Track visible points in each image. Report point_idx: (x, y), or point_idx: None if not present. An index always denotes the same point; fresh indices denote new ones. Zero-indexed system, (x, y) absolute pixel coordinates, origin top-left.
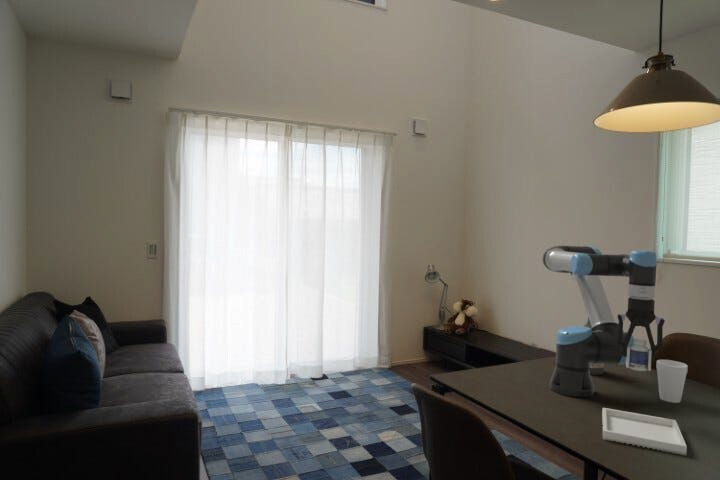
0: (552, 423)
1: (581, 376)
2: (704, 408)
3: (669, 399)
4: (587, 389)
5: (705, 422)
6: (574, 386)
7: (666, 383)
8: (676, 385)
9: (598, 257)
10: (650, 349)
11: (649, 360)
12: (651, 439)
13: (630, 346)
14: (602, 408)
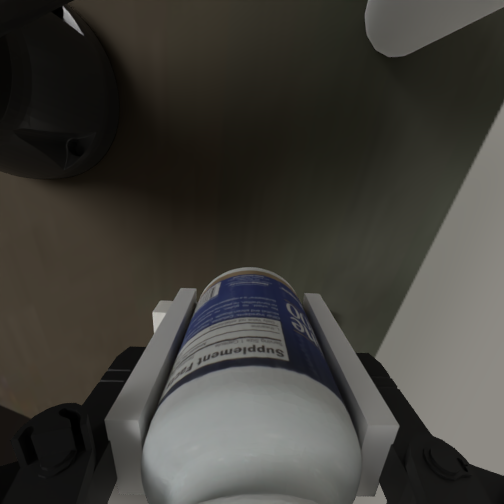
0: (66, 392)
1: (11, 145)
2: (489, 79)
3: (391, 52)
4: (84, 150)
5: (420, 230)
6: (30, 173)
7: (424, 14)
8: (465, 25)
9: None
10: (386, 448)
11: None
12: None
13: (145, 493)
14: (153, 314)
